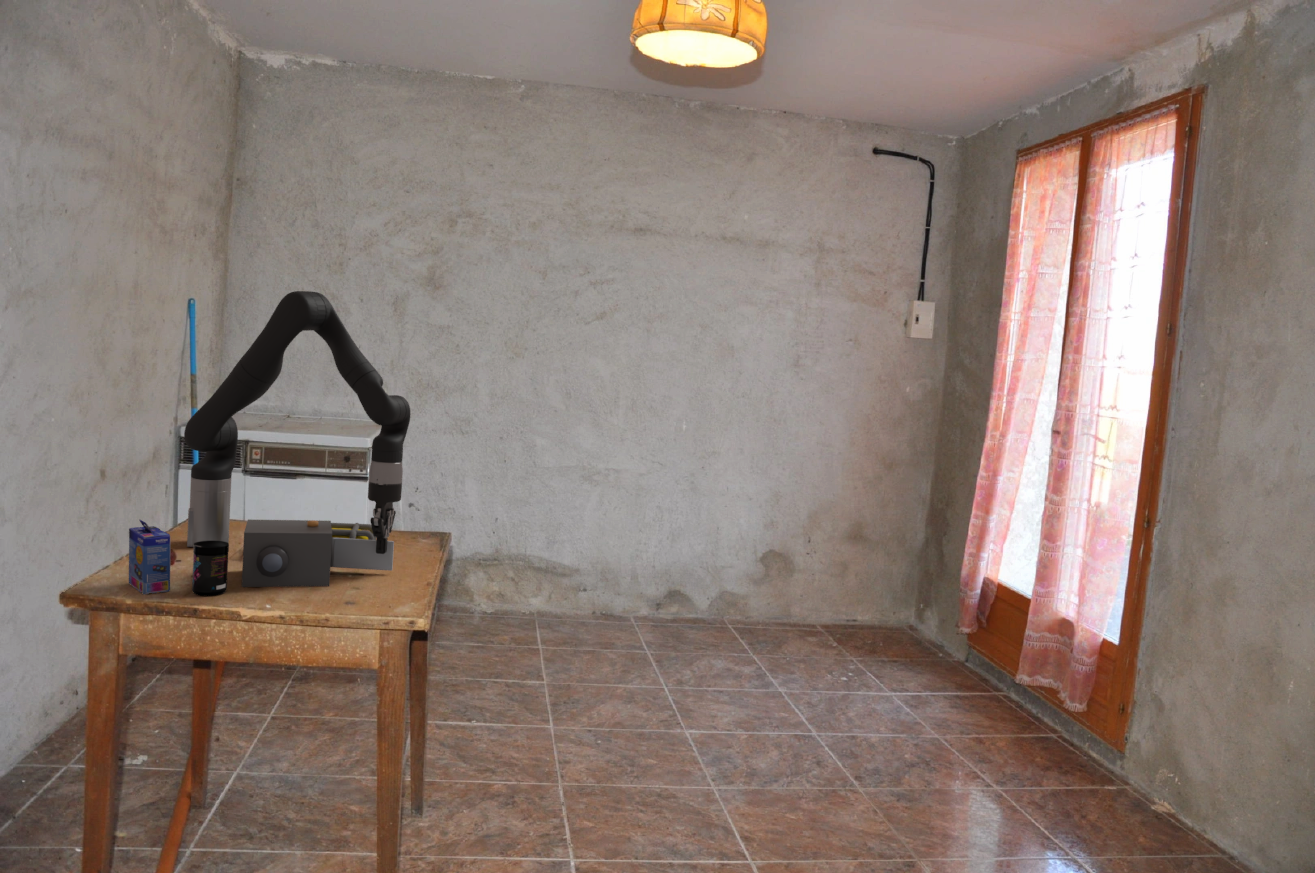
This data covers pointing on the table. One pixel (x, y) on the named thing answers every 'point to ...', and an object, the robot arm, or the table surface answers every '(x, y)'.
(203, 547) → the supplement container
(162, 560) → the ink cartridge box
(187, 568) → the table surface
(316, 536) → the block
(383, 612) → the table surface
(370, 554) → the side door
